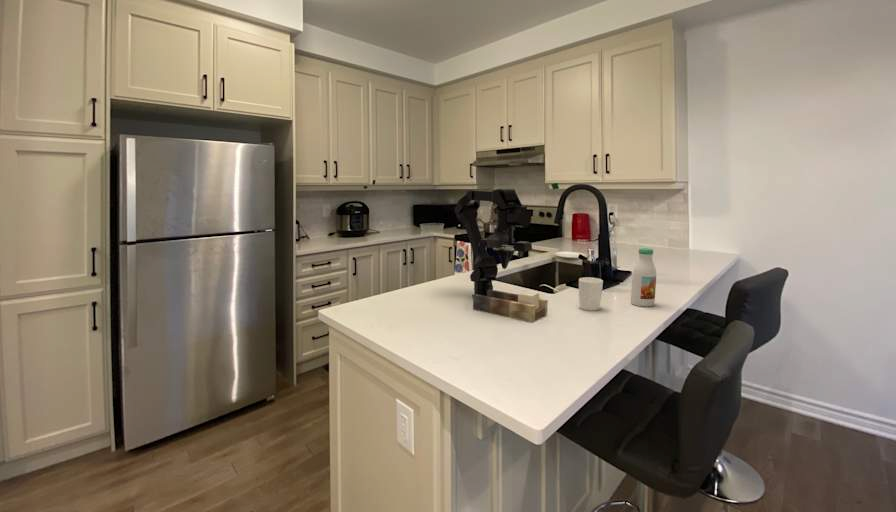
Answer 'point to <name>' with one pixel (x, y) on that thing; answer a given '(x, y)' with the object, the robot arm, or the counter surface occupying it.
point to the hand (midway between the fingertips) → (504, 268)
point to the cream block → (529, 298)
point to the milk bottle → (644, 279)
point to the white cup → (590, 293)
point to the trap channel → (509, 305)
